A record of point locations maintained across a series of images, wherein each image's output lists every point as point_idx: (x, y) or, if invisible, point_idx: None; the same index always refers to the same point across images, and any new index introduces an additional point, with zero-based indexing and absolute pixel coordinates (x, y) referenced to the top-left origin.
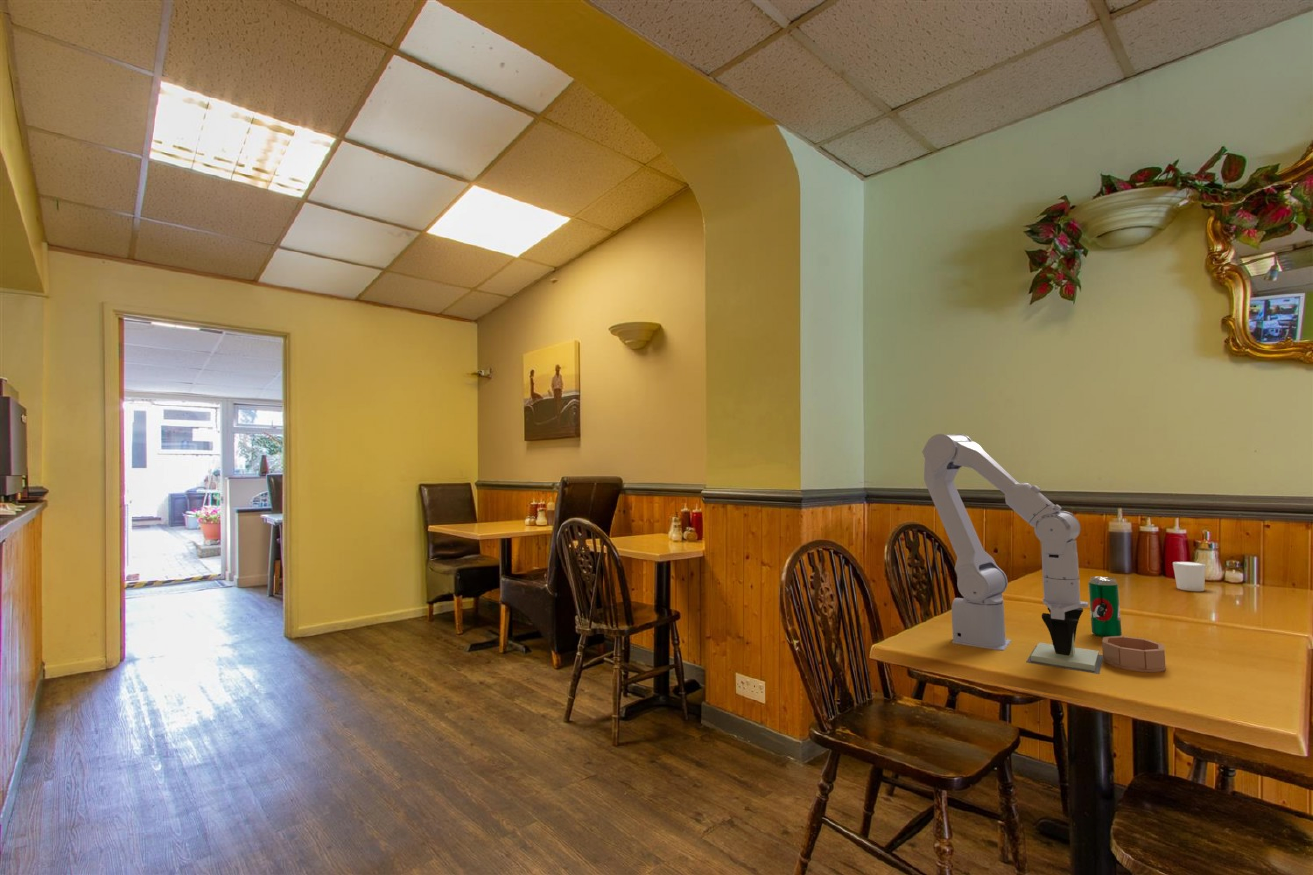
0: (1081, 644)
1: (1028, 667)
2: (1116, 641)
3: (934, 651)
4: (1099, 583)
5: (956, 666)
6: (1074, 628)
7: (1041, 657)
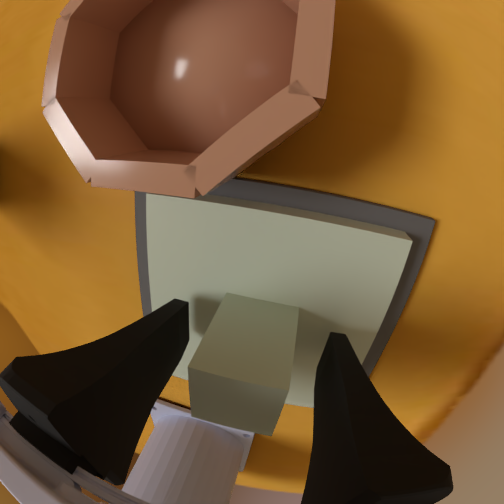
0: (51, 232)
1: None
2: (86, 123)
3: (304, 481)
4: None
5: None
6: (407, 443)
7: None
